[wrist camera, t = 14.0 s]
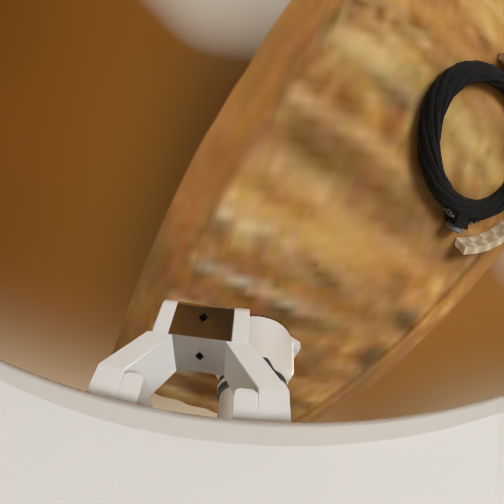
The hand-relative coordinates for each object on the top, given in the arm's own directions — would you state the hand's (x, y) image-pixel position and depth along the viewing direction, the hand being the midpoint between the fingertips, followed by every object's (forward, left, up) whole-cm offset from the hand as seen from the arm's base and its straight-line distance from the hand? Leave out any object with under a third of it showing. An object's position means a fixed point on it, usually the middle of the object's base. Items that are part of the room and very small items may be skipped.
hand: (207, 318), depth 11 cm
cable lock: (+7, -37, -35) cm, 52 cm away
